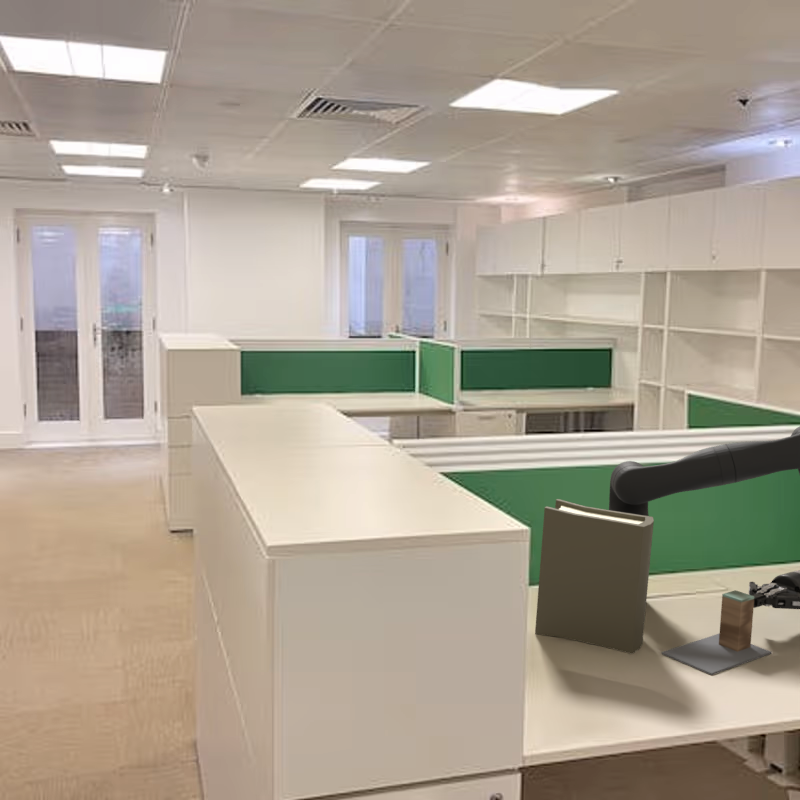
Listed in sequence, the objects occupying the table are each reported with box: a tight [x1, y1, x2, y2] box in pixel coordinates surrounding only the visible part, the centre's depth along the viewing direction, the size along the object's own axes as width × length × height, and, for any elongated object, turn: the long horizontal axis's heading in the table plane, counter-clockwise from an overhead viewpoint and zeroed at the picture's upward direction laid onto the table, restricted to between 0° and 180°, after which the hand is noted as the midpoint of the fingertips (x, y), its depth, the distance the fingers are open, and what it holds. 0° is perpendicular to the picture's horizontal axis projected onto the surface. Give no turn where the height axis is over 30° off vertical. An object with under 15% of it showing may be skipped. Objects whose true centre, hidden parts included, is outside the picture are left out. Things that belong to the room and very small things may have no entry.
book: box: [534, 498, 655, 654], centre depth 193 cm, size 22×9×28 cm, turn 63°
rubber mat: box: [661, 632, 772, 676], centre depth 187 cm, size 20×12×1 cm, turn 125°
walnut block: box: [718, 590, 755, 652], centre depth 190 cm, size 4×4×11 cm
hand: (750, 602), depth 192 cm, fingers closed
